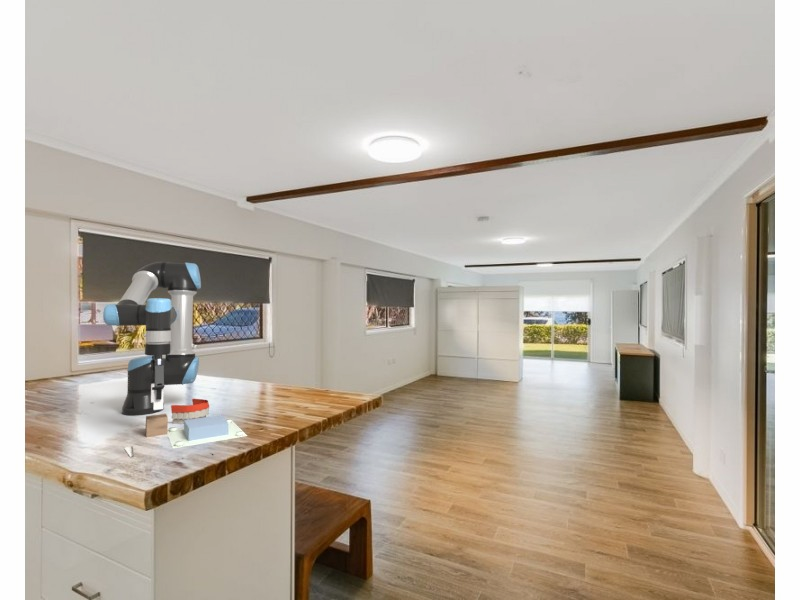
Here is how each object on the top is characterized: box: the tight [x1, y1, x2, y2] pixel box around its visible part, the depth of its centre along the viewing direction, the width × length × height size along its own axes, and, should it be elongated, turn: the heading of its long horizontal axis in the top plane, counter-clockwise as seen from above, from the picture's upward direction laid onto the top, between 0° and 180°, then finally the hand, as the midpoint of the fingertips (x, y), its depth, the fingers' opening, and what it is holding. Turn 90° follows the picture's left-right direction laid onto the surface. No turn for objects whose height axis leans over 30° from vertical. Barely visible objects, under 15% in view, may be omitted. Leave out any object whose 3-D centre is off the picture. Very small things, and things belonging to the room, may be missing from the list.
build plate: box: [166, 419, 248, 449], centre depth 139 cm, size 22×22×2 cm
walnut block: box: [145, 413, 169, 438], centre depth 138 cm, size 6×6×7 cm
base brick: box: [183, 414, 229, 441], centre depth 139 cm, size 12×12×4 cm
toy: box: [170, 398, 210, 425], centre depth 155 cm, size 12×10×8 cm
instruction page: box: [123, 445, 135, 458], centre depth 125 cm, size 10×7×1 cm
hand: (156, 405), depth 138 cm, fingers open, 13 cm apart
